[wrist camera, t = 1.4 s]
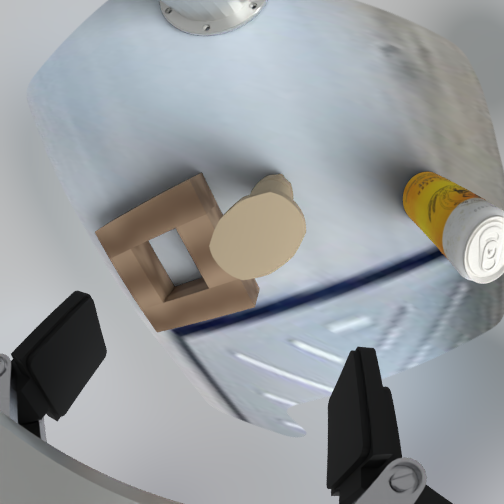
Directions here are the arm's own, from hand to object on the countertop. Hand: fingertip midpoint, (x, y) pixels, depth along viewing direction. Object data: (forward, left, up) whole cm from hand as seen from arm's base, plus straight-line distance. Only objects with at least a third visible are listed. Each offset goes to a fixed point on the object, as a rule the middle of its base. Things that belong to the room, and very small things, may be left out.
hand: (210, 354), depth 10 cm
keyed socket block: (+10, -11, -25) cm, 29 cm away
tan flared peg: (0, 0, -25) cm, 25 cm away
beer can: (-2, +17, -25) cm, 30 cm away
